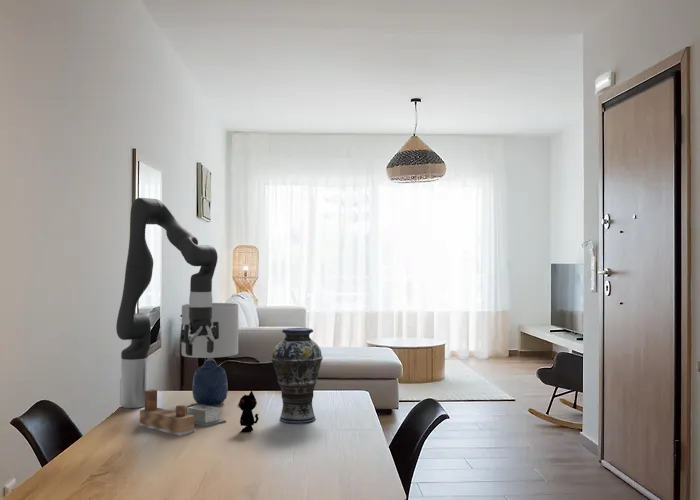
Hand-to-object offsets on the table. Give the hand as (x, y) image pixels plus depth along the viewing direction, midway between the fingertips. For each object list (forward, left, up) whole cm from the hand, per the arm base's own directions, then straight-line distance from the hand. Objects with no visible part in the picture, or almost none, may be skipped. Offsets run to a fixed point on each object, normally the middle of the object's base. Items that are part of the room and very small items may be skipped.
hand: (199, 354), depth 231 cm
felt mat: (+4, -2, -22) cm, 22 cm away
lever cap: (+4, -2, -21) cm, 21 cm away
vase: (+26, +19, -22) cm, 39 cm away
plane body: (+2, -15, -22) cm, 26 cm away
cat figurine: (+24, -1, -22) cm, 33 cm away
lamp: (-16, +18, -22) cm, 32 cm away
